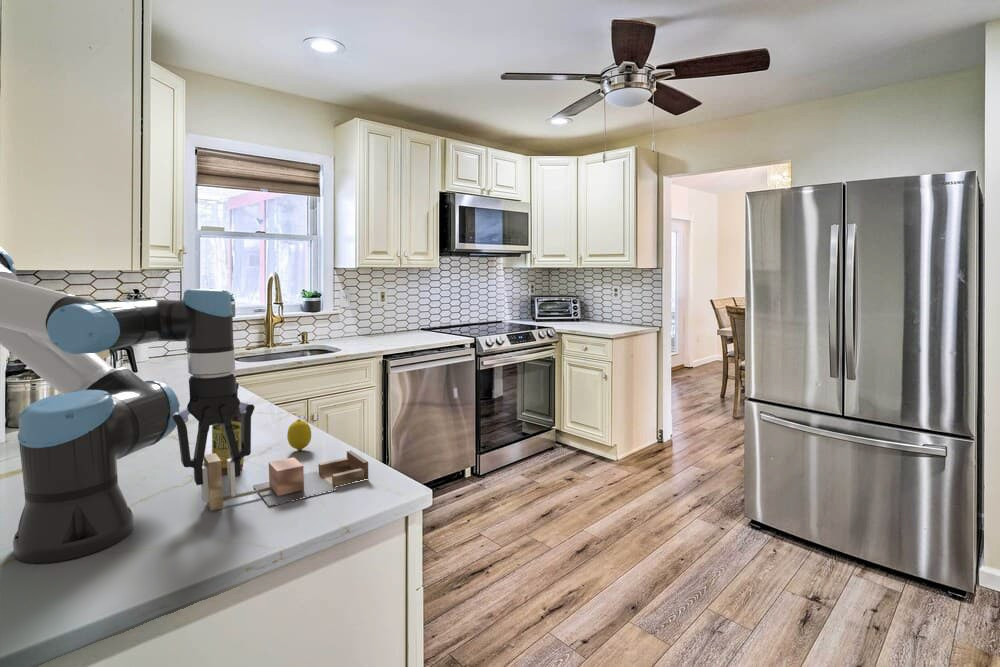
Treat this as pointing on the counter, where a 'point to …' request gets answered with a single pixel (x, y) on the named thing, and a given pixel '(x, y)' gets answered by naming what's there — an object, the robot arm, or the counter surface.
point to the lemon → (299, 434)
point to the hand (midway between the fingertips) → (219, 496)
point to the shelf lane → (322, 479)
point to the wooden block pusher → (281, 480)
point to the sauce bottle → (220, 439)
